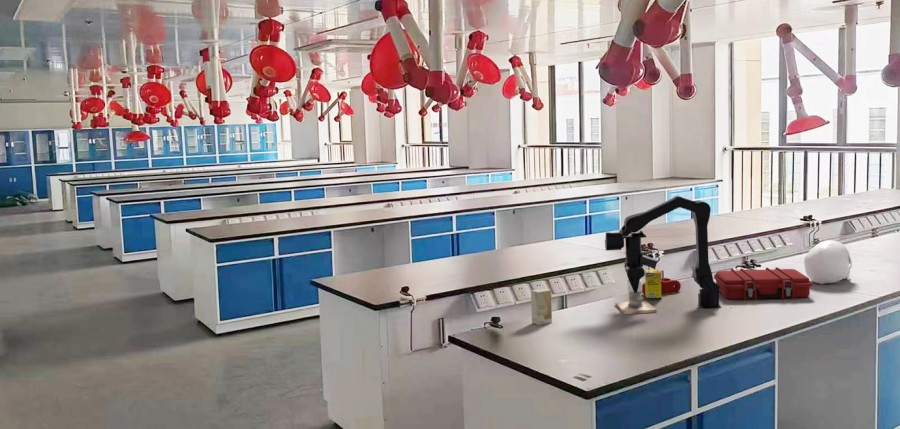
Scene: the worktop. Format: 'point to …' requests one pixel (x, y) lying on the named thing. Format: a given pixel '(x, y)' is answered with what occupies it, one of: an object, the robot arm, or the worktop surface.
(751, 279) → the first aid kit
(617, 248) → the robot arm
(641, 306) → the beige square board
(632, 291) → the cap
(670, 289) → the mechanical linkage
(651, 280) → the supplement box
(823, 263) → the lumpy white sphere
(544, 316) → the skincare box
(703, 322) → the worktop surface
